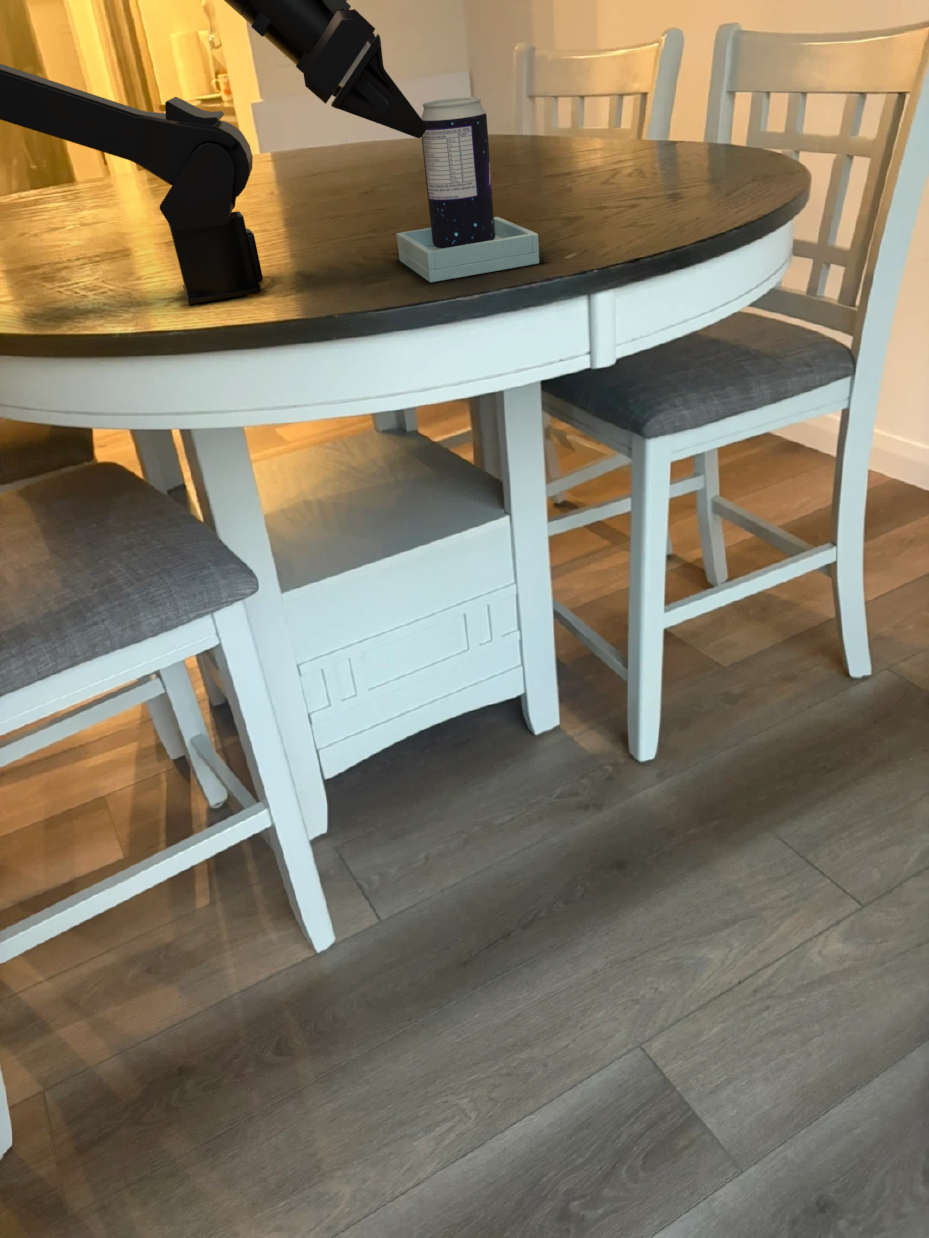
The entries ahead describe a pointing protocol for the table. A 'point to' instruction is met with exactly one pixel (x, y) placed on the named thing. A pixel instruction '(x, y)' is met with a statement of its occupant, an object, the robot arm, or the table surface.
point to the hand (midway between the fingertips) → (419, 128)
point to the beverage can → (458, 172)
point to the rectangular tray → (469, 253)
